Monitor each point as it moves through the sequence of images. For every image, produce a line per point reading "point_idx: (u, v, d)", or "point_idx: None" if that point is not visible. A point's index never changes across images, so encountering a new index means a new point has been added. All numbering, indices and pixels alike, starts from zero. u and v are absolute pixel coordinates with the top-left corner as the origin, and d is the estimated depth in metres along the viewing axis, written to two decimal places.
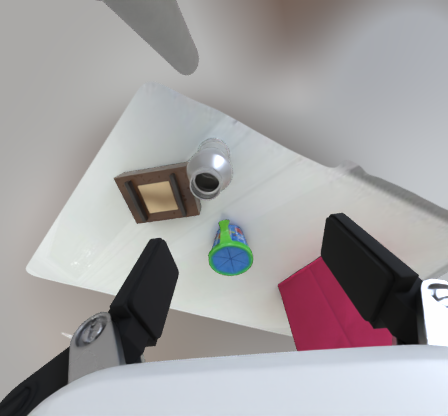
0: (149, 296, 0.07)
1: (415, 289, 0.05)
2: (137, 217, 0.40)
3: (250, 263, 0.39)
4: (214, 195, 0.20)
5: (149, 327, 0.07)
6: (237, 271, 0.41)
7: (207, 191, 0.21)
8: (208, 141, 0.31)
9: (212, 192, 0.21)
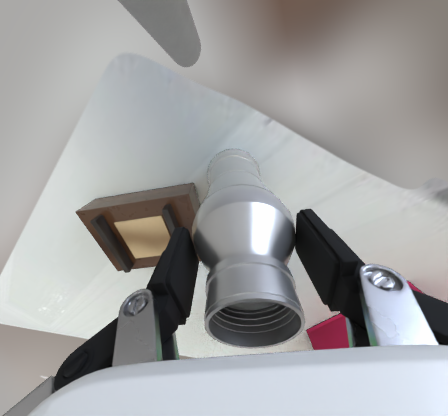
0: (180, 277, 0.08)
1: None
2: (117, 263, 0.27)
3: None
4: (271, 329, 0.07)
5: (181, 305, 0.08)
6: None
7: None
8: (227, 155, 0.18)
9: (259, 304, 0.08)
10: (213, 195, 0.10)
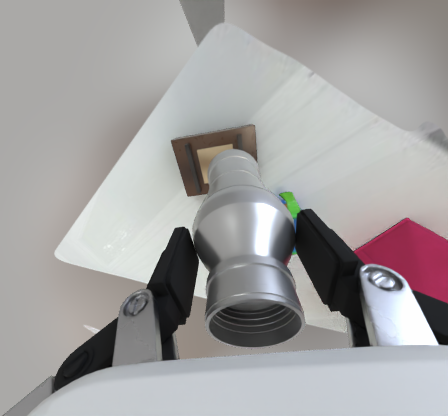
0: (180, 277, 0.08)
1: None
2: (189, 189, 0.36)
3: None
4: (272, 329, 0.07)
5: (181, 305, 0.08)
6: None
7: None
8: (227, 155, 0.18)
9: (259, 305, 0.08)
10: (213, 195, 0.10)
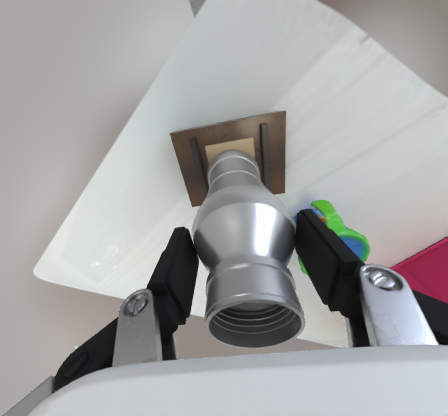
0: (180, 277, 0.08)
1: None
2: (194, 197, 0.28)
3: None
4: (271, 330, 0.07)
5: (181, 305, 0.08)
6: None
7: None
8: (227, 155, 0.18)
9: (259, 305, 0.08)
10: (213, 196, 0.10)
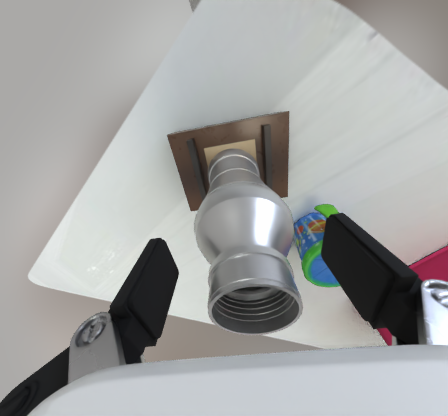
0: (149, 296, 0.07)
1: (415, 289, 0.05)
2: (193, 201, 0.27)
3: None
4: (271, 317, 0.08)
5: (149, 327, 0.07)
6: None
7: (245, 289, 0.09)
8: (227, 154, 0.19)
9: (259, 295, 0.09)
10: (214, 191, 0.10)
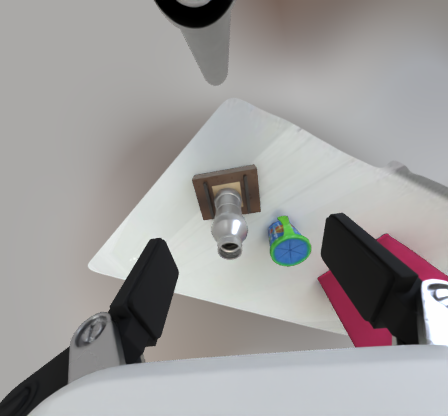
0: (149, 296, 0.07)
1: (415, 289, 0.05)
2: (205, 214, 0.45)
3: (308, 254, 0.44)
4: (235, 255, 0.26)
5: (149, 327, 0.07)
6: (294, 261, 0.45)
7: (229, 249, 0.27)
8: (224, 193, 0.37)
9: (233, 250, 0.27)
10: (218, 216, 0.29)
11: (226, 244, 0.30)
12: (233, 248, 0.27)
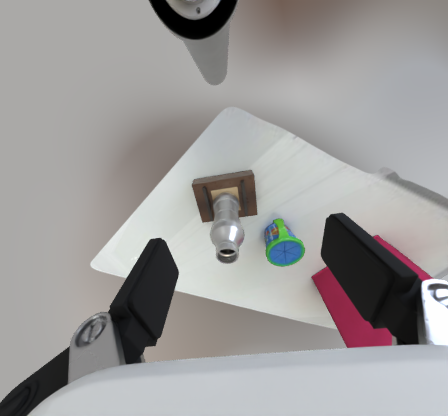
0: (149, 296, 0.07)
1: (415, 289, 0.05)
2: (204, 217, 0.47)
3: (301, 255, 0.46)
4: (232, 259, 0.28)
5: (149, 327, 0.07)
6: (289, 262, 0.48)
7: (226, 253, 0.29)
8: (222, 198, 0.39)
9: (230, 255, 0.29)
10: (217, 222, 0.31)
11: None
12: (230, 252, 0.29)
